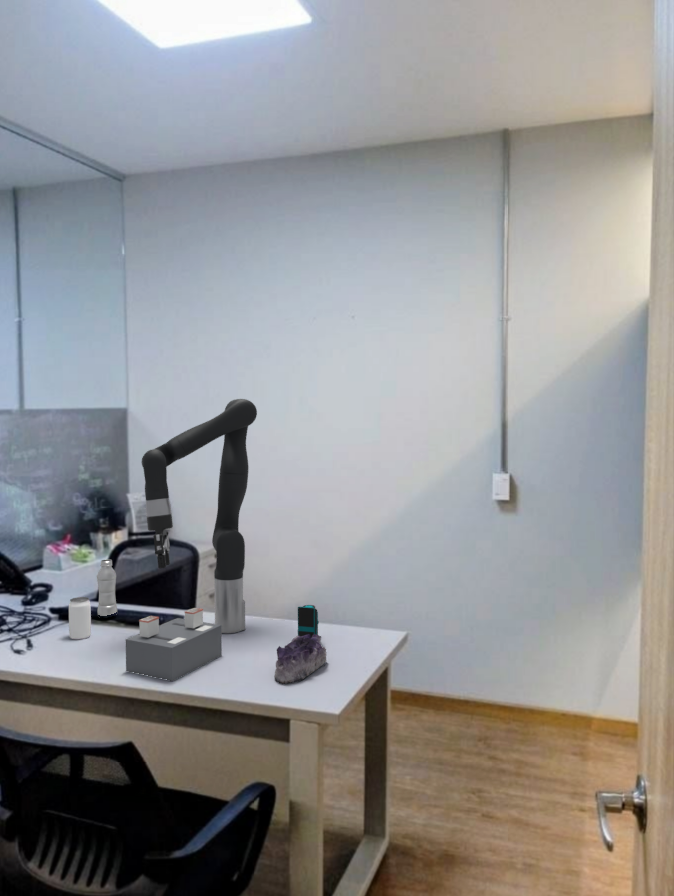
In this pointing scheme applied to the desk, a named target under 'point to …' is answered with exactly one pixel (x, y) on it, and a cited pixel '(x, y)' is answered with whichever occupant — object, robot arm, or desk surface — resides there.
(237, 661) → the desk surface
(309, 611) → the surveillance camera
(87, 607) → the can
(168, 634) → the power box
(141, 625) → the switch
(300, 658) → the geode
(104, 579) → the plastic bottle
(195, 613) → the switch
